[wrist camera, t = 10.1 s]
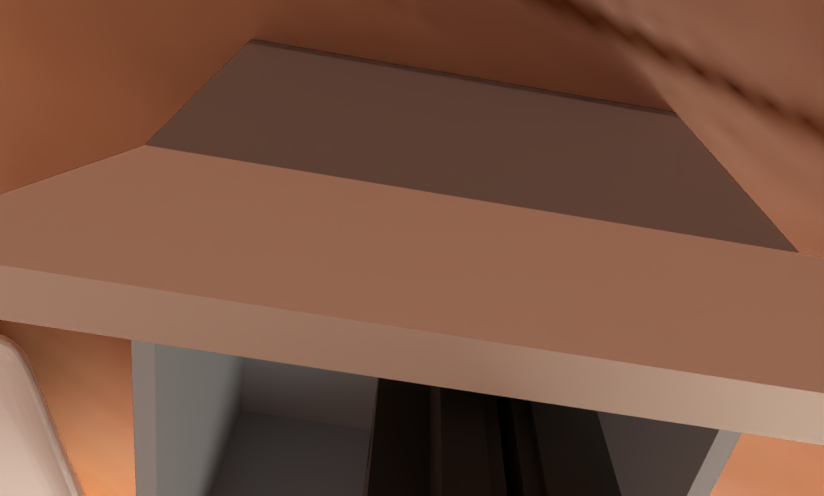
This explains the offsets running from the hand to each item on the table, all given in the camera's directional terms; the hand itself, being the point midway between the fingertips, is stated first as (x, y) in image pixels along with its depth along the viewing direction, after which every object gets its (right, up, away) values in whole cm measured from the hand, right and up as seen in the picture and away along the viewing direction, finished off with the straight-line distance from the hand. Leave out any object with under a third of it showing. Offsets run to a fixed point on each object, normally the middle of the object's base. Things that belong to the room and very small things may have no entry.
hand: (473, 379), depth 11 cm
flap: (+1, +1, +1) cm, 2 cm away
